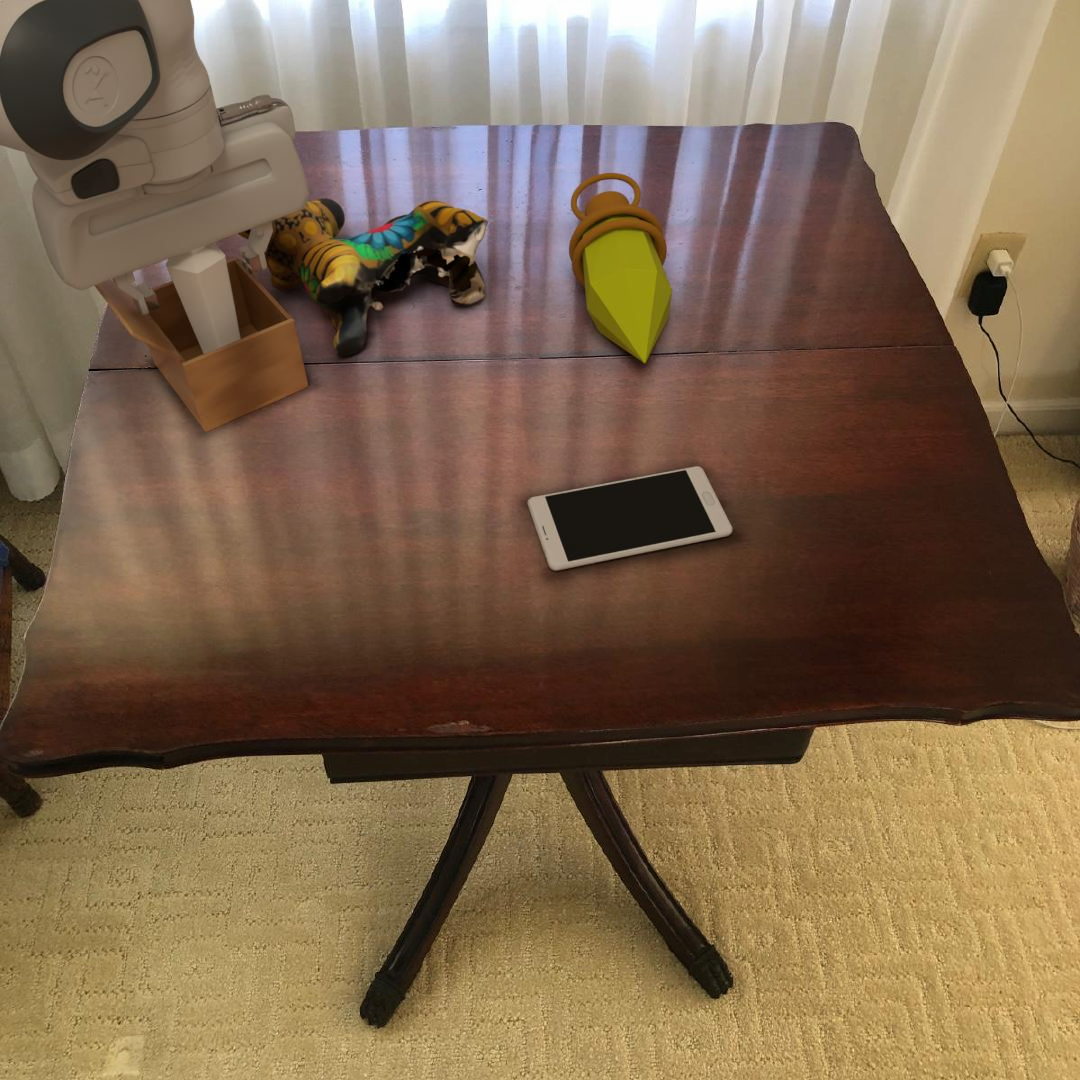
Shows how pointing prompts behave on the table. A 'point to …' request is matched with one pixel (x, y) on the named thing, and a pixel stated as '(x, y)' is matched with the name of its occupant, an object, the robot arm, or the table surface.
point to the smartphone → (627, 517)
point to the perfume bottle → (206, 295)
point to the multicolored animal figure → (373, 260)
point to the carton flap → (135, 318)
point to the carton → (231, 354)
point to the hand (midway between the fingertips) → (203, 288)
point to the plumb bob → (621, 267)
